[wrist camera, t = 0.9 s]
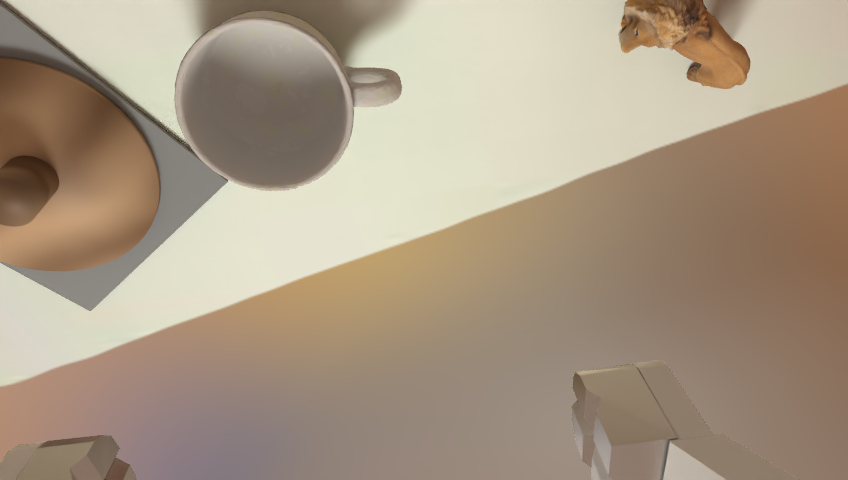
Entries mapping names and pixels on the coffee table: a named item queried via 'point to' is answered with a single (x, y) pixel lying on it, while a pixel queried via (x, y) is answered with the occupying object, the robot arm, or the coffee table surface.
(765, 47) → the coffee table surface
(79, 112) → the lid
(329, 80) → the teacup
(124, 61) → the coffee table surface
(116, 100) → the mat
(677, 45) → the lion figurine
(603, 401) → the robot arm
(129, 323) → the coffee table surface
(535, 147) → the coffee table surface
